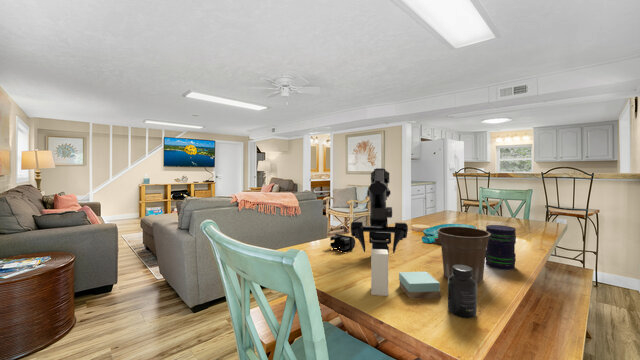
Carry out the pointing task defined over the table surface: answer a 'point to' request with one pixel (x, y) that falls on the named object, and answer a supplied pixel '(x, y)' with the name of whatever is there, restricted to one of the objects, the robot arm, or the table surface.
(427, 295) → the tower base
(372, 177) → the robot arm
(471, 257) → the plant pot
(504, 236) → the storage jar
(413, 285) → the tower top
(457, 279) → the supplement bottle
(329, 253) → the table surface
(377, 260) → the cream block
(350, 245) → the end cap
